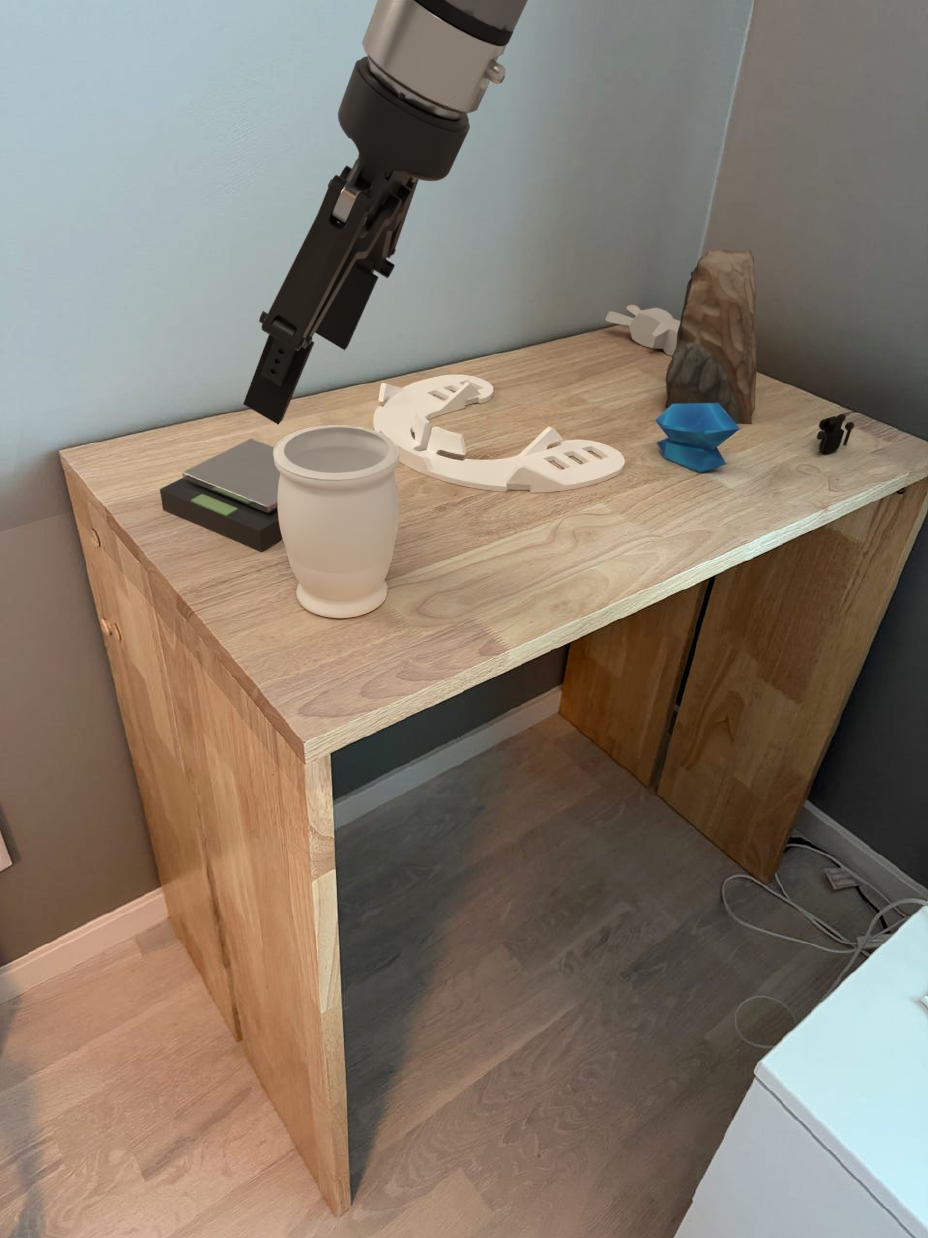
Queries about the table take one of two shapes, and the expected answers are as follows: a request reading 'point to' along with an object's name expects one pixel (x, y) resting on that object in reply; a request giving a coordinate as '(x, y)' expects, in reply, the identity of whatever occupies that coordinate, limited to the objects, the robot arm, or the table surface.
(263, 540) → the scale
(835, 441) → the wireless earbuds
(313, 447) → the jar
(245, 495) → the scale platform
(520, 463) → the cable organizer
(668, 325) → the bunny figurine
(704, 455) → the crystal
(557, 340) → the table surface
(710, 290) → the brown rock
